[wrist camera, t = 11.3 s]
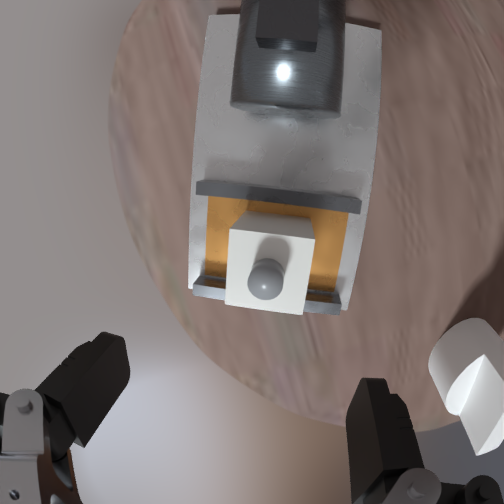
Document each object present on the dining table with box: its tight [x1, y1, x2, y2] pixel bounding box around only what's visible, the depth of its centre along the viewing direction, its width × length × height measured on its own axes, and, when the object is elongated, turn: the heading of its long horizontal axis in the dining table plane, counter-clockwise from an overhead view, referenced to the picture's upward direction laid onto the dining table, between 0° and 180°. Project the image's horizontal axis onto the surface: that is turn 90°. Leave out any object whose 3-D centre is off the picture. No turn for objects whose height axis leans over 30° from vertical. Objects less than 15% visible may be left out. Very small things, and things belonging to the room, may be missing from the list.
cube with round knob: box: [225, 210, 315, 315], centre depth 20 cm, size 5×5×8 cm
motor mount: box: [188, 0, 382, 315], centre depth 18 cm, size 24×14×10 cm, turn 175°
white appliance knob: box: [428, 318, 504, 455], centre depth 20 cm, size 9×9×12 cm
